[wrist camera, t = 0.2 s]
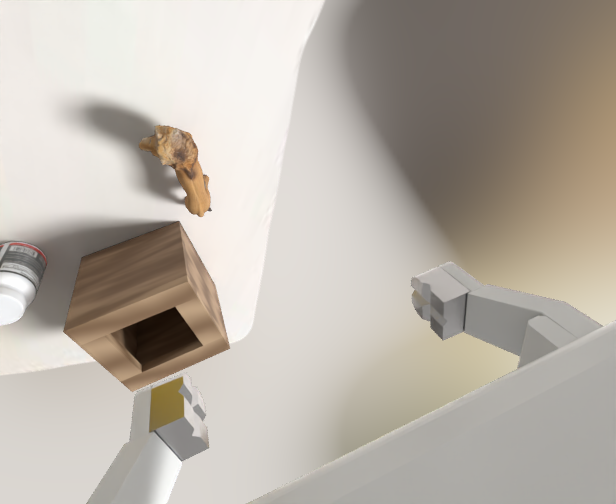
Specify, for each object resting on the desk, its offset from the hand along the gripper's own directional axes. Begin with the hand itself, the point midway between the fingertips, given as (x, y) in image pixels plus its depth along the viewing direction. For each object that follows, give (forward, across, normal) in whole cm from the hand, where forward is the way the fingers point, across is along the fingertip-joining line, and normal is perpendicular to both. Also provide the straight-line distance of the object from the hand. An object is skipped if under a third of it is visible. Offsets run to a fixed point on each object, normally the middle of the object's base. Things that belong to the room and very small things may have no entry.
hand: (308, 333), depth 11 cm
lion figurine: (+40, +5, +4) cm, 40 cm away
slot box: (+41, +15, +19) cm, 48 cm away
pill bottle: (+40, +29, +9) cm, 50 cm away
